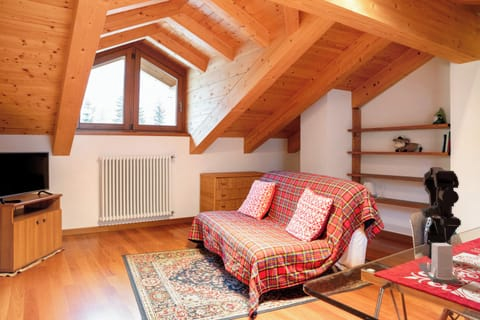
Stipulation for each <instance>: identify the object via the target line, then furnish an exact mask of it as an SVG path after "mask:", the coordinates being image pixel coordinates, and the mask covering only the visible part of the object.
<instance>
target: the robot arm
mask: <svg viewBox="0 0 480 320" xmlns="http://www.w3.org/2000/svg"><path fill="white" fill-rule="evenodd" d="M459 185H460V181H459V177H458V175H457V174H456V173H455V171H454V170H445V169H444V168H443V167H441V166H440V167H439V166H437V167H436V166H435V167H434V166H431V167H430V168H429V170H428V171H427V172H425V173H424V174H423V180H422V186H424V191H425V193H427V195H428V200H429V202H428V203H429V204H428V205H429V206H427V207H422V208H420V212H421V214H422V217H424V218H425V219H430V220H429V221H430V224H429V226H428V227H427V229H426V231H425V236H424V243H425V245H426V246H427V245H428V253H425V256H426V257H428V259H430V260H432V243H447V244H449V241H450V240H451V239H452V236H453V235H454V234H455V232H456V230H457V229H458V228H459V227H460V226H462V220H461V219H459V218H460V217H457V216H454V215H455V214H454V213H453V207H455V204H456V203H458V201H459V199H460V196H459V194H458V192H457V191H456V190H455V189H458V188H459Z"/></svg>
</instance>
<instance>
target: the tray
mask: <svg viewBox="0 0 480 320" xmlns="http://www.w3.org/2000/svg"><path fill="white" fill-rule="evenodd" d="M417 266H418V267H419V268H420V269H421V270H422V272H423V271H424V272H425V273H426V274H425V273H424V272H423V273H424V274H425V275H426V276H427V277H428V279H430V281H431V282H432V281H433V283H440V282H441V283H442V284H453V285H454V284H456V285H460V280H459V279H458V274H459V270H456V269H454V275H453V274H452V276H451V277H437V276H436V275H437V269H434V273H433V274H432V273H431V263H430V262H429V261H428V262H427V263H425V262H424V263H421V262H418V265H417Z"/></svg>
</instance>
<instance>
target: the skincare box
mask: <svg viewBox="0 0 480 320" xmlns="http://www.w3.org/2000/svg"><path fill="white" fill-rule="evenodd" d="M453 252H454V246H453V245H451V244H449V243H448V244H447V243H432V259H431V263H430V264H431V273H432V274H433V273H434V269H437V275H436V276H437V277H451V276H452V275H453V263H454V262H453V261H454V253H453Z"/></svg>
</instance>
